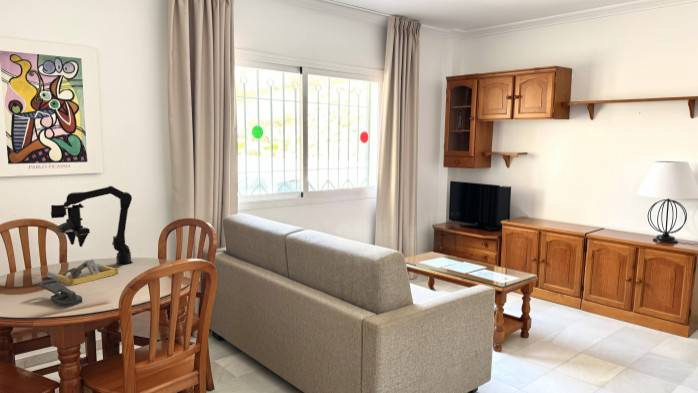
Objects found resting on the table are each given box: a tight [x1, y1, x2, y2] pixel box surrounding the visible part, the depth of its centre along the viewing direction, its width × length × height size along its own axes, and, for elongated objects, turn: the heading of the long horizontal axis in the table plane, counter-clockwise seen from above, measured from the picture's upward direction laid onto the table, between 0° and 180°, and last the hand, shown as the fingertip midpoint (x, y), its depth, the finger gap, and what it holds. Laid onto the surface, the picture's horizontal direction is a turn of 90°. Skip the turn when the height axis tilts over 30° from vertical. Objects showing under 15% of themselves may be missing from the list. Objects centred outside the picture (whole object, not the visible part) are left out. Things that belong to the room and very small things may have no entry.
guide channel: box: [46, 262, 119, 286], centre depth 247 cm, size 23×25×2 cm
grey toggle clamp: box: [36, 278, 83, 308], centre depth 210 cm, size 9×7×25 cm
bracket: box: [61, 259, 100, 276], centre depth 243 cm, size 10×14×10 cm
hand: (76, 245), depth 258 cm, fingers open, 9 cm apart
